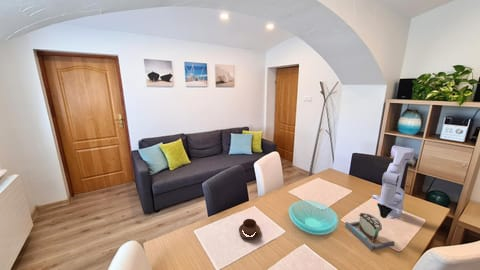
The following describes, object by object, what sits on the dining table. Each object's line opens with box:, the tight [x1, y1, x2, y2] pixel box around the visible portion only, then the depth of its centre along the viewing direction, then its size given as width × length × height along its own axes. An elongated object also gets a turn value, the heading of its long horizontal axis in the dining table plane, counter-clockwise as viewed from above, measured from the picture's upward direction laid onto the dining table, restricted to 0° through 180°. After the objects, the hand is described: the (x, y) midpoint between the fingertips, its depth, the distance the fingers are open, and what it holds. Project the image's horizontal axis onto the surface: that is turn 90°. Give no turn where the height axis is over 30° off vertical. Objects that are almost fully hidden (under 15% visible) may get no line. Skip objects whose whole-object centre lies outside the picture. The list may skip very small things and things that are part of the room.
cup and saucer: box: [238, 218, 262, 240], centre depth 103 cm, size 12×12×6 cm
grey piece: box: [344, 220, 395, 252], centre depth 101 cm, size 14×17×4 cm
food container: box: [358, 212, 383, 244], centre depth 100 cm, size 12×6×10 cm, turn 6°
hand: (383, 217), depth 100 cm, fingers closed
